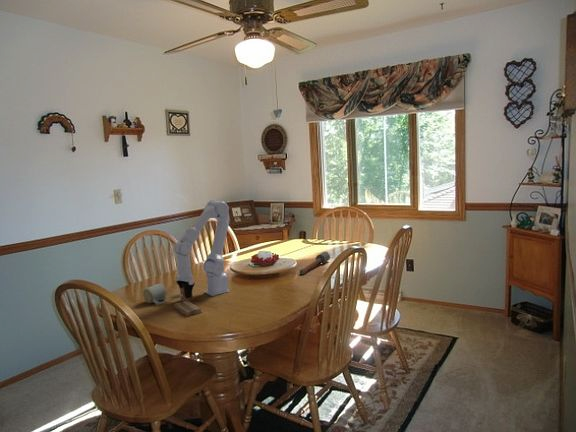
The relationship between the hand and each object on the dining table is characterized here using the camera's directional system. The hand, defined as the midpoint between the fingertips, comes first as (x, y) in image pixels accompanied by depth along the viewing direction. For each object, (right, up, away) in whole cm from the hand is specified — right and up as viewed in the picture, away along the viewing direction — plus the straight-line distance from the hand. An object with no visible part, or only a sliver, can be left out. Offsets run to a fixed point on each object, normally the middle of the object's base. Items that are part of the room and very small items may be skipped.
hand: (186, 296), depth 198 cm
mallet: (+61, +7, +46) cm, 77 cm away
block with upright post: (-2, -2, -1) cm, 4 cm away
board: (+3, -4, -12) cm, 13 cm away
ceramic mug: (-14, -3, +1) cm, 14 cm away
